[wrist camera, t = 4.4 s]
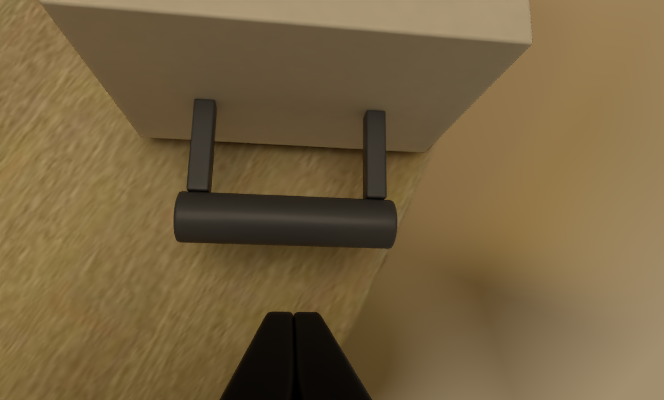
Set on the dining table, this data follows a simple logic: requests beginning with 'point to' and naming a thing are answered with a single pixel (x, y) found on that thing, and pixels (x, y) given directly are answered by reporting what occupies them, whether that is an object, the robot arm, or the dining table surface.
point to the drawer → (294, 93)
